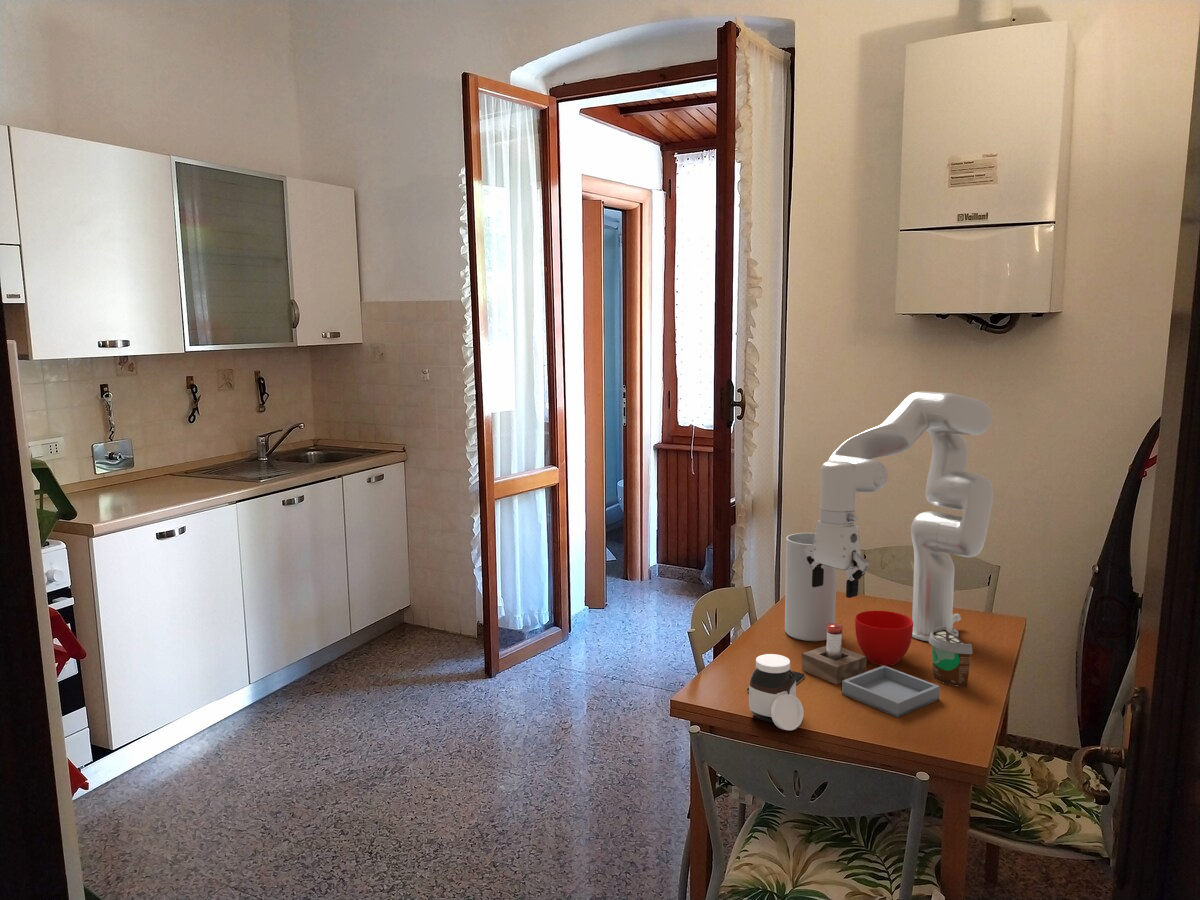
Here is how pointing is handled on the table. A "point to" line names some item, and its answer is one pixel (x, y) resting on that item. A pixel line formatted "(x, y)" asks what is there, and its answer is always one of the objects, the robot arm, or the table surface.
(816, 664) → the walnut socket block
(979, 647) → the table surface
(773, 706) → the jar and lid
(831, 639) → the steel pin
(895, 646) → the red bowl
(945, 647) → the food container
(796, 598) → the cylinder vase
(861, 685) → the slate tray
